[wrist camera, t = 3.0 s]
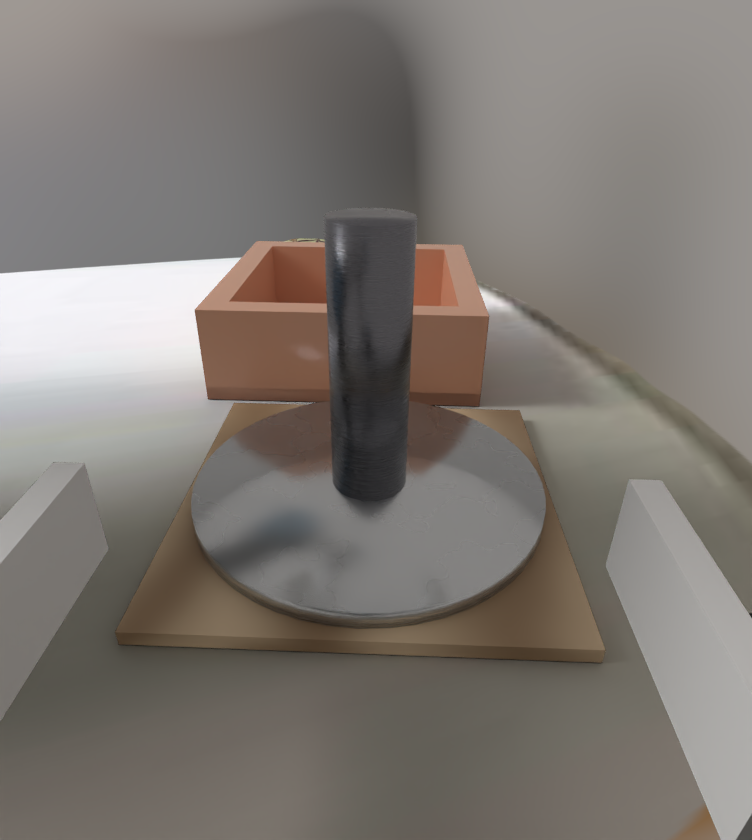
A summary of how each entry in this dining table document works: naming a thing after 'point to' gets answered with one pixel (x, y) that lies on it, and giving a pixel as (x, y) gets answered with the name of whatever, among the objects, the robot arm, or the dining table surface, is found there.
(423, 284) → the terracotta square tray
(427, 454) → the lid
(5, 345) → the dining table surface
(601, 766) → the dining table surface
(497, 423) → the trivet
